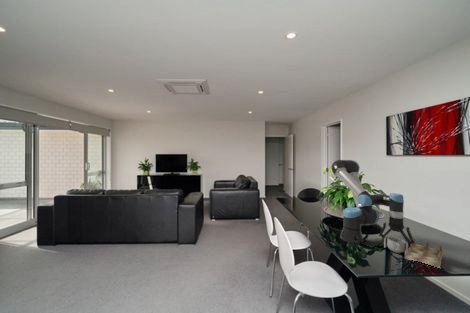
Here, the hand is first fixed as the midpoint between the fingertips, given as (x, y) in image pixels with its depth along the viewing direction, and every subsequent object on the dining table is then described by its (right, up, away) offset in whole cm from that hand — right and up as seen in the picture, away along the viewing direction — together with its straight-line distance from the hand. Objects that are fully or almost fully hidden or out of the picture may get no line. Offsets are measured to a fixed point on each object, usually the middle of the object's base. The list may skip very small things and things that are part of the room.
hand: (395, 250), depth 142 cm
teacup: (0, -2, 0) cm, 2 cm away
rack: (+11, -2, -8) cm, 14 cm away
